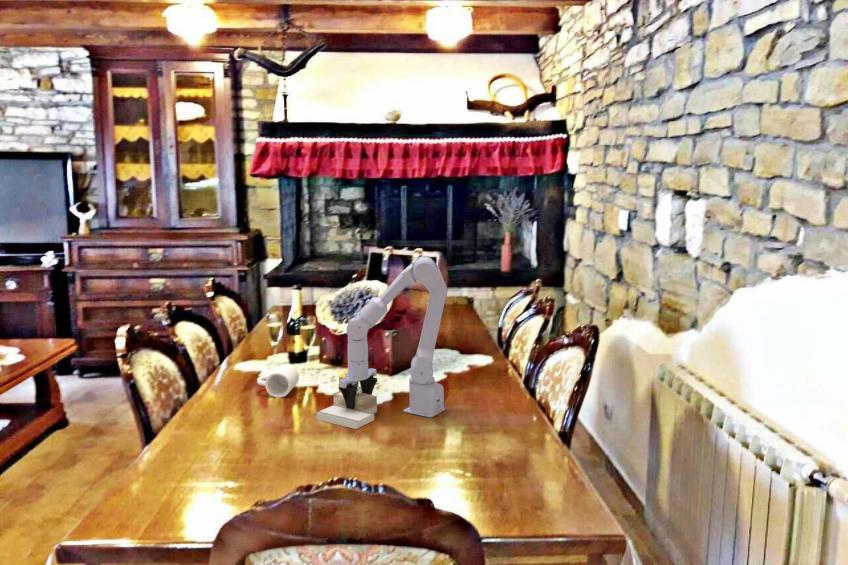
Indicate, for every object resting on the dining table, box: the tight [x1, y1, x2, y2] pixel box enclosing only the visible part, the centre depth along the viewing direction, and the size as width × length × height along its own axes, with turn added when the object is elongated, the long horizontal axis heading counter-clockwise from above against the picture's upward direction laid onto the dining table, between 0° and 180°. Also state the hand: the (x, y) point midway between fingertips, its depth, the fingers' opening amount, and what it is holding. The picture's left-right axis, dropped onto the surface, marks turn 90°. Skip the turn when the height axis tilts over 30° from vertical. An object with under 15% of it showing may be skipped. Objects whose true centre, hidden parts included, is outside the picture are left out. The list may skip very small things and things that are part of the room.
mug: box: [256, 363, 300, 399], centre depth 221 cm, size 12×10×8 cm
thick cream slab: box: [332, 390, 378, 414], centre depth 204 cm, size 12×5×5 cm, turn 55°
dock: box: [315, 403, 375, 430], centre depth 197 cm, size 14×8×2 cm, turn 56°
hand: (358, 405), depth 204 cm, fingers open, 7 cm apart
